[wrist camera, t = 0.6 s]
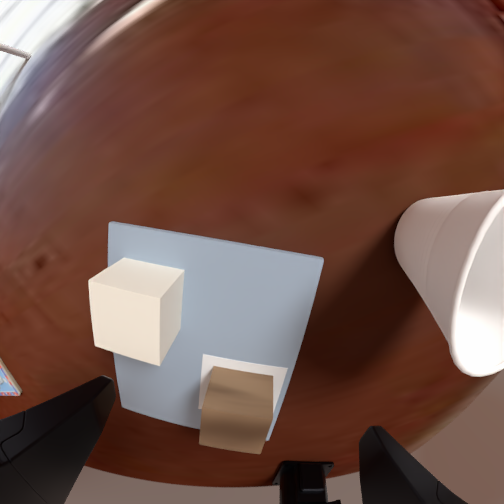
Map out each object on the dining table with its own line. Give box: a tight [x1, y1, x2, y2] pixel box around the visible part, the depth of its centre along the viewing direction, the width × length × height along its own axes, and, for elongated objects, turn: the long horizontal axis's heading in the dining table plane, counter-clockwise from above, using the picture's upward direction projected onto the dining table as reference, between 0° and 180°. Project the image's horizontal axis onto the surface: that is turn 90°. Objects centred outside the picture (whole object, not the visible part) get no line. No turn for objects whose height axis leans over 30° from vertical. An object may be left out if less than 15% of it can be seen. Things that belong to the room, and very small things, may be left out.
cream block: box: [88, 258, 185, 366], centre depth 18 cm, size 5×5×5 cm
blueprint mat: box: [108, 221, 324, 440], centre depth 22 cm, size 20×16×1 cm
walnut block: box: [199, 366, 273, 454], centre depth 20 cm, size 5×5×5 cm
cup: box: [394, 190, 504, 377], centre depth 14 cm, size 10×10×11 cm
